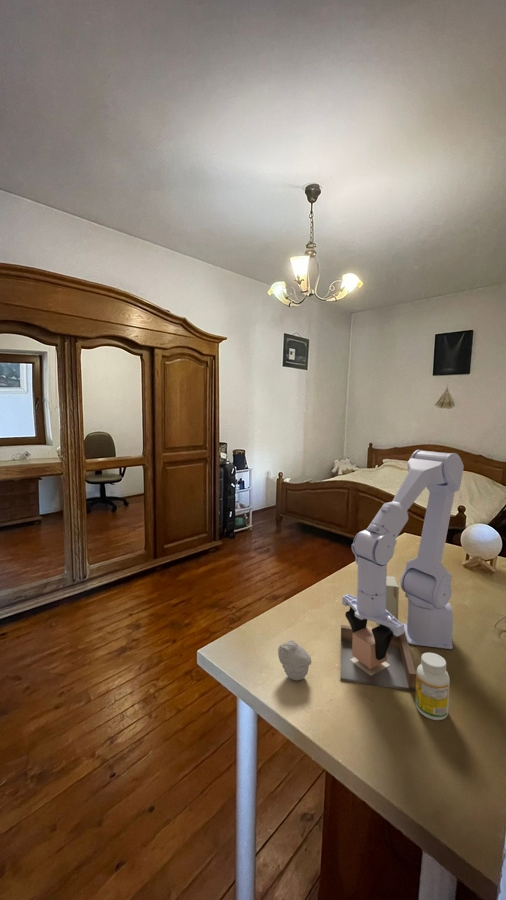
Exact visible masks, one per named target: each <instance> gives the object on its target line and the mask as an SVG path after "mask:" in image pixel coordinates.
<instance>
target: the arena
mask: <svg viewBox="0 0 506 900" xmlns="http://www.w3.org/2000/svg"><path fill="white" fill-rule="evenodd" d="M352 639H353V631H352V628H351V626H350V625H345V624H344V625H343V624H341V625H340V679H339V681H344V682H351V683H357V684H362V685H363V684H364V685H365V684H366V685H371V686H378V687H383V688H391V689H399V690H404V691H410V692H416V676H417V671H416V669H415V665H414V663H413V658H412V655H411V651H410V647H409V643H408V642H407V638H406V635H405V631H404V634H402V635H400V636H395V635H394V637H393V638H392V640H391V642H390V644H389V647H388V650H387V661H385V662H383V663H381V664H379V665H377V666H375V667H373V668H371V669H369V668H368V667H367V666H366V665H364V664H363V663H362V662H360V661H359V660H358V659H356V658H355V657H354V656H353V655H352Z"/></svg>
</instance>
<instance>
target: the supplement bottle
mask: <svg viewBox="0 0 506 900" xmlns="http://www.w3.org/2000/svg"><path fill="white" fill-rule="evenodd" d="M450 681H451V679H450V675H449V673H448V671H447V661H446V659H445V658H444V657H442V656H441V655H439V654H437V653H434V652H424V653H422V654H421V657H420V664H419V665H418V666H417V668H416V690H415V706H416V708H417V710H418V712H419V714H421V715H423V716H424V717H426V718H428V719H430V720H432V721H441V720H442V721H443V720H445V719H446V718H447V717H448V715H449V703H450V702H449V701H450V699H449V697H450V683H451V682H450Z"/></svg>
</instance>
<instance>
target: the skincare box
mask: <svg viewBox="0 0 506 900" xmlns="http://www.w3.org/2000/svg"><path fill="white" fill-rule="evenodd" d="M399 590H400V586H399V582H398V580H397V579H396V576H392V575H391V576H389V575H387V578H386V610H387V611H388V612H389V613H391V614H392V615H393V616H394V617H395V618H396V619H397V620H398V621H399V598H400V597H399V595H400V594H399V593H400V591H399ZM376 625H377V626H379V623H376ZM377 626H376V627H377Z"/></svg>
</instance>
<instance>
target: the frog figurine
mask: <svg viewBox="0 0 506 900" xmlns="http://www.w3.org/2000/svg"><path fill="white" fill-rule="evenodd" d="M277 651H278V652H277V654H278V660H279V662H280V664H282V668H283V671H284V673H285V675H286V676H287V677H288V678H289V679H291V680H293V681H301V680H303V679H304V678H306V676H307V675H308V672H309V667H310V665H312V658H311V655H310V654H309V653H308V652H307V650H306V649H305V648H304V647H303V646H301V645H300V644H298V643H297V642H296V640H293V639H290V640H287V642H284V643H281V644H280V645H279V646H278V649H277Z"/></svg>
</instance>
